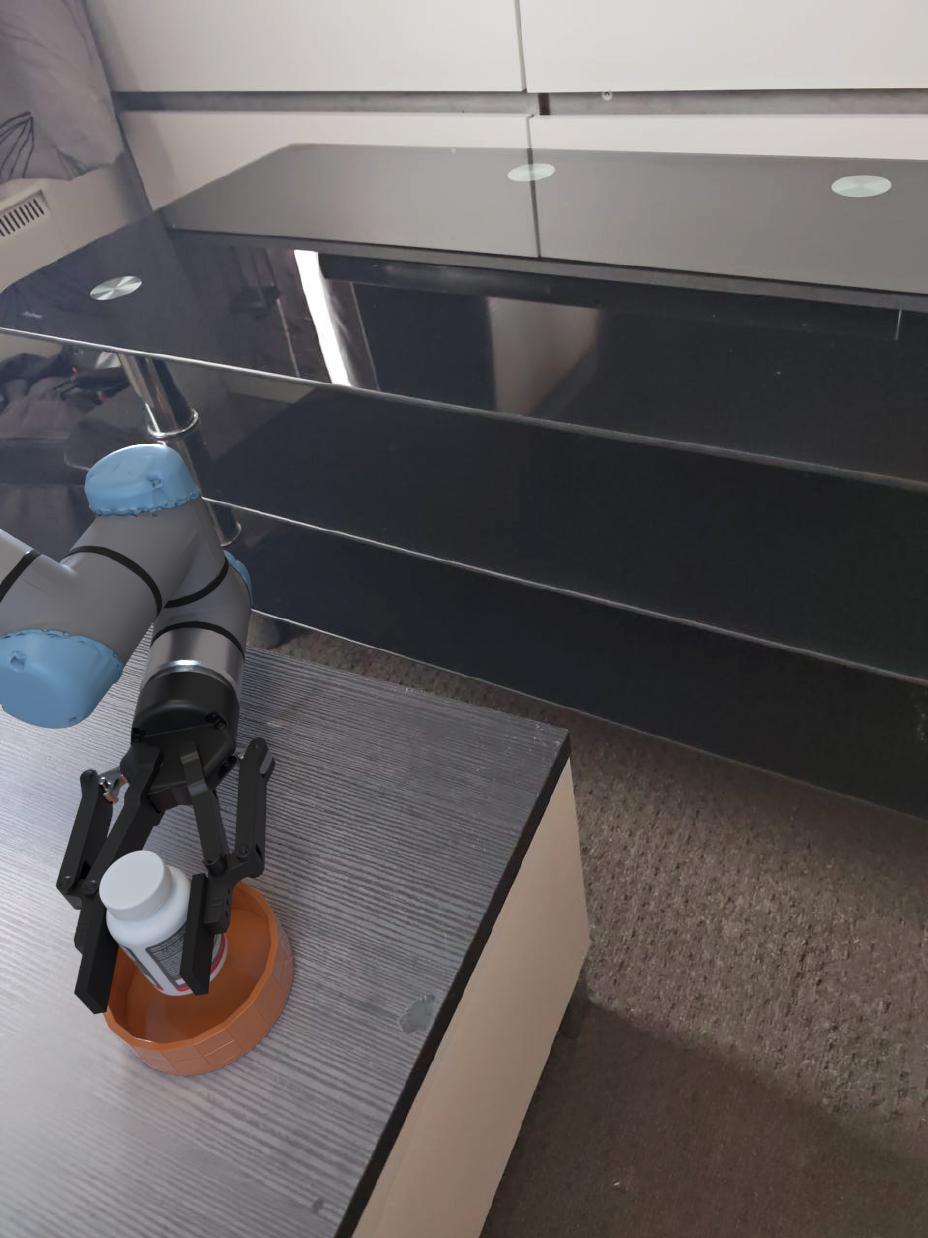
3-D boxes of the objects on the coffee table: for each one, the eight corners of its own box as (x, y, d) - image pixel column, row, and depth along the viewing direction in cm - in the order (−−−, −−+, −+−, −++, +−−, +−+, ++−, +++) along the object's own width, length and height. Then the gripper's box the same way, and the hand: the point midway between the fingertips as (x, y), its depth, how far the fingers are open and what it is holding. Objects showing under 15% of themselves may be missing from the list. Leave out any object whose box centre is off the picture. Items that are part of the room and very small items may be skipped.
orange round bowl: (86, 1039, 62) (59, 1012, 59) (192, 886, 69) (173, 856, 67) (229, 1106, 57) (207, 1081, 54) (326, 934, 65) (311, 904, 62)
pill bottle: (236, 918, 62) (185, 836, 56) (220, 996, 58) (163, 917, 52) (161, 924, 63) (101, 843, 56) (140, 1001, 59) (73, 924, 52)
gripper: (320, 712, 72) (315, 995, 55) (93, 754, 73) (18, 1049, 55) (293, 644, 67) (279, 932, 50) (50, 690, 68) (-48, 991, 50)
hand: (142, 992), depth 53 cm, fingers closed on pill bottle, 5 cm apart
